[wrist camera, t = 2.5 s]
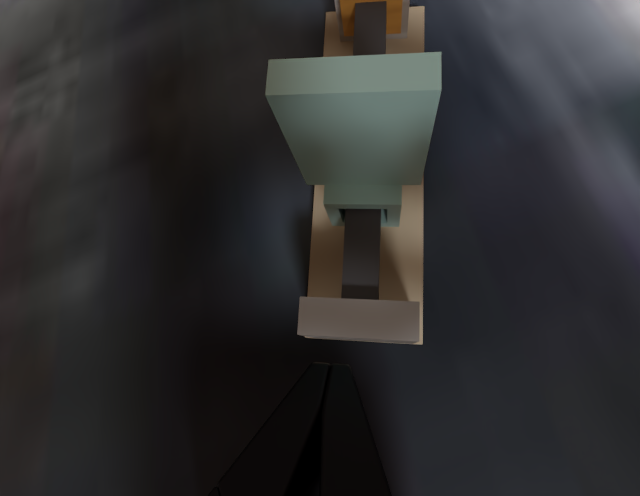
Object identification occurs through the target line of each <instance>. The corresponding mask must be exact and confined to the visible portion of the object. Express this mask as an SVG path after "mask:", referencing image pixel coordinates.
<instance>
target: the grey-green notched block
mask: <svg viewBox="0 0 640 496" xmlns="http://www.w3.org/2000/svg"><path fill="white" fill-rule="evenodd" d="M440 94H441V52H427V53H404V54H382V55H360V56H338V57H316V58H293V59H271V60H269V61H268V71H267V81H266V91H265V96H266V98H267V101H268V103H269V105H270V107H271V109H272V111H273V113H274V116H275V118H276V120H277V122H278V124H279V126H280V128H281V131H282V133H283V135H284V137H285V139H286V141H287V144H288V146H289V148H290V150H291V152H292V154H293V156H294V159H295V161H296V163H297V165H298V167H299V169H300V171H301V174H302V176H303V178H304V180H305V182H306V184H307V185H324V200H323V205H324V207H325V209H326V212H327V214H328V217H329V219H330V221H331V224H332V226H345V209H381V227H399V223H400V214H401V206H402V185H421V182H422V177H423V173H424V168H425V163H426V159H427V154H428V150H429V145H430V140H431V136H432V131H433V127H434V122H435V117H436V113H437V108H438V103H439V99H440Z"/></svg>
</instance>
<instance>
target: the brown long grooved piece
mask: <svg viewBox="0 0 640 496" xmlns="http://www.w3.org/2000/svg"><path fill="white" fill-rule="evenodd" d="M334 1H335V8H336V12H326V22H325V38H324V53H323V57H338V56H360V55H382V54H404V53H424V6H418V7H409V3H410V0H334ZM423 176H424V173H423ZM323 200H324V185H315V189H314V204H313V220H312V235H311V250H310V265H309V280H308V295H307V297H300V302H299V316H298V331H297V335H301V336H305V338H315V339H332V340H350V341H367V342H384V343H402V344H419V345H422V344H423V177H422V182H421V185H402V206H401V214H400V223H399V227H381V209H345V226H332V224H331V221H330V219H329V217H328V214H327V212H326V209H325V207H324V205H323Z"/></svg>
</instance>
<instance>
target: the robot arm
mask: <svg viewBox="0 0 640 496" xmlns="http://www.w3.org/2000/svg"><path fill="white" fill-rule="evenodd" d="M217 486H218V487H214V488H213V490H212V491H211V492H210V494H209V495H208V496H392V495H391V492H390V488H389V485H388V482H387V479H386V476H385V473H384V470H383V467H382V464H381V461H380V457H379V454H378V451H377V448H376V445H375V442H374V439H373V436H372V433H371V429H370V426H369V423H368V420H367V417H366V414H365V411H364V408H363V405H362V402H361V398H360V395H359V392H358V389H357V386H356V383H355V380H354V377H353V374H352V371H351V368H350V366H349V365H348V364H338V363H333V364H332V365H330V364H329V363H322V362H313V363H312V364H311V365H310V366H309V367H308V368H307V370H306V371H305V372H304V373H303V375H302V376H301V377H300V379H299V380H298V381H297V382H296V384H295V385H294V386H293V388H292V389H291V390H290V391H289V393H288V394H287V395H286V397H285V398H284V399H283V400H282V402H281V403H280V404H279V405H278V407H277V408H276V409H275V411H274V412H273V413H272V414H271V416H270V417H269V418H268V420H267V421H266V422H265V423H264V425H263V426H262V427H261V429H260V430H259V431H258V432H257V434H256V435H255V436H254V438H253V439H252V440H251V441H250V443H249V444H248V445H247V446H246V448H245V449H244V450H243V452H242V453H241V454H240V455H239V457H238V458H237V459H236V461H235V462H234V463H233V464H232V466H231V467H230V468H229V470H228V471H227V472H226V473H225V475H224V476H223V477H222V479H221V480H220V481H219V482H218V484H217Z"/></svg>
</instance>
